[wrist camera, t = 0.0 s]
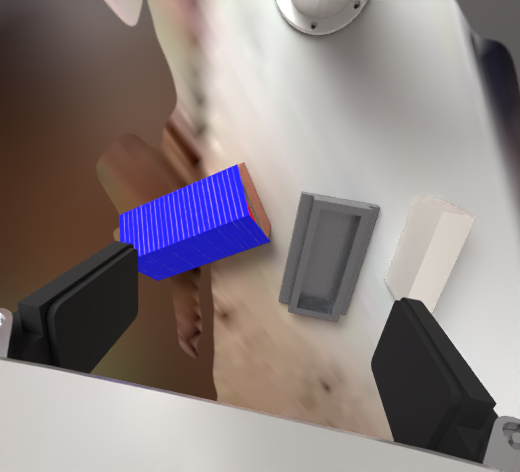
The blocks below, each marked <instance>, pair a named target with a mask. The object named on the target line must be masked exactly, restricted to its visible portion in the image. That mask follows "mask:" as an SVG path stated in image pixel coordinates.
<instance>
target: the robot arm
mask: <svg viewBox="0 0 520 472" xmlns="http://www.w3.org/2000/svg"><path fill="white" fill-rule="evenodd" d="M276 2H277V5H278V8H279V10H280V11H281V13H282V15H283V17H284V18H285V19H286V20H287V21H288V22H289V24H291V25H292V26H293V27H295V28H296V29H297V30H299V31H302V32H304V33H306V34H311V35H325V34H330V33H333V32H335V31H338V30H340V29H342V28H343V27H345V26H346V25H347V24H349V23H350V22H351V21H352V20H353V19H354V18H355V17H356V16H357V15H358V14H359V13H360V11H361V10H362V8H363V7H364V6H365V4H366V2H367V0H276ZM355 5H357V7H358V8H357V9H355V8H354V6H355ZM313 25H314V26H315V29H312V28H311V27H312V26H313ZM18 308H19V310H17V311H16V312H14V313H11V312H9V311H8V310H6V309H2V308H0V472H520V419H517V418H514V417H509V416H502V417H498V415H497V414H496V413H495V411H494V410H493V408H494V407H495V405H496V402H495V401H494V400H493V398H492V397H491V396H490V394H489V393H488V391H487V390H486V389H485V387H484V386H483V385H482V383H481V382H480V380H479V379H478V378H477V376H476V375H475V374H474V372H473V371H472V369H471V368H470V367H469V365H468V364H467V363H466V361H465V360H464V358H463V357H462V356H461V354H460V353H459V352H458V350H457V349H456V347H455V346H454V345H453V343H452V342H451V341H450V339H449V338H448V336H447V335H446V334H445V332H444V331H443V330H442V328H441V327H440V325H439V324H438V323H437V321H436V320H435V319H434V317H433V316H432V314H431V313H430V312H429V310H428V309H427V308H426V306H425V305H424V303H423V302H422V301H420V300H416V299H410V298H405V297H403V298H401V299H400V301H399V300H396V301H395V302H394V304H393V307H392V309H391V312H390V314H389V317H388V319H387V322H386V324H385V327H384V330H383V332H382V335H381V337H380V340H379V342H378V345H377V347H376V350H375V352H374V355H373V358H372V362H371V368H372V372H373V375H374V378H375V381H376V384H377V388H378V391H379V394H380V397H381V400H382V403H383V407H384V410H385V413H386V416H387V419H388V423H389V426H390V429H391V432H392V435H393V438H394V442H393V441H389V440H385V439H381V438H377V437H372V436H368V435H363V434H359V433H355V432H350V431H346V430H341V429H337V428H333V427H328V426H324V425H320V424H315V423H311V422H306V421H302V420H298V419H293V418H289V417H284V416H280V415H275V414H271V413H266V412H262V411H257V410H253V409H248V408H244V407H239V406H235V405H230V404H226V403H221V402H217V401H212V400H208V399H203V398H198V397H194V396H189V395H185V394H181V393H176V392H171V391H167V390H162V389H157V388H152V387H148V386H143V385H139V384H134V383H130V382H125V381H120V380H115V379H111V378H106V377H102V376H97V375H92V374H89V373H90V372H91V371H92V370H93V369H94V368H95V366H96V365H97V364H98V363H99V362H100V360H101V359H102V358H103V357H104V356H105V354H106V353H107V352H108V351H109V350H110V348H111V347H112V346H113V345H114V344H115V342H116V341H117V340H118V339H119V338H120V336H121V335H122V334H123V333H124V332H125V330H126V329H127V328H128V327H129V326H130V325H131V323H132V322H133V321H134V320H135V318H136V316H137V313H138V251H137V249H135V248H134V246H133V245H132V244H129V243H124V242H119V241H115V242H113V243H111V244H110V245H108V246H106V247H105V248H103V249H102V250H100V251H99V252H97V253H95V254H94V255H92V256H91V257H89V258H87V259H86V260H84V261H83V262H81V263H79V264H78V265H76V266H75V267H73V268H72V269H70V270H68V271H67V272H65V273H63V274H62V275H60V276H59V277H57V278H56V279H54V280H52V281H51V282H49V283H48V284H46V285H44V286H43V287H41V288H40V289H38V290H36V291H35V292H33V293H32V294H30V295H29V296H27V297H25V298H24V299H22V300H21V301H19V302H18Z"/></svg>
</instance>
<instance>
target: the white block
mask: <svg viewBox="0 0 520 472" xmlns="http://www.w3.org/2000/svg"><path fill="white" fill-rule="evenodd" d="M475 219H476V217H475V216H473V215H471V214H469V213H467V212H465V211H463V210H461V209H459V208H457V207H455V206H453V205H451V204H449V203H447V202H445V201H443V200H439V199H433V198H427V197H422V196H416V195H415V197H414V200H413V203H412V206H411V208H410V211H409V214H408V217H407V219H406V222H405V225H404V227H403V230H402V233H401V236H400V238H399V241H398V244H397V247H396V249H395V252H394V255H393V258H392V260H391V263H390V266H389V269H388V271H387V274H386V277H385V279H384V280H385V282H386V284H387V285H388V287H389V289H390V291H391V292H392V294H393V296H394V297H395V299H396V300H399V301H400V299H401V298H403V297H405V298H410V299H416V300H420V301H422V302H423V303H424V305H425V306H426V308H427V309H428V310H429V312H430V313H431V314H432V312H433V310H434V308H435V306H436V303H437V301H438V299H439V297H440V295H441V293H442V290H443V288H444V286H445V284H446V282H447V279H448V277H449V275H450V273H451V271H452V269H453V266H454V264H455V262H456V260H457V258H458V256H459V253H460V251H461V249H462V247H463V245H464V242H465V240H466V238H467V236H468V234H469V232H470V229H471V227H472V225H473V223H474V221H475Z"/></svg>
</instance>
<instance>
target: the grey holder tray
mask: <svg viewBox="0 0 520 472" xmlns="http://www.w3.org/2000/svg"><path fill="white" fill-rule="evenodd" d="M379 210H380V207H379V206H378V205H374V204H368V203H363V202H357V201H352V200H346V199H340V198H335V197H329V196H324V195H318V194H313V193H307V192H302V193H301V197H300V202H299V207H298V211H297V216H296V221H295V225H294V230H293V235H292V239H291V244H290V249H289V253H288V258H287V263H286V267H285V272H284V277H283V281H282V286H281V291H280V295H279V302H282V303H287V304H289V305H288V312H290V313H295V314H300V315H305V316H310V317H315V318H320V319H325V320H330V321H334V322H337V321H338V317H339V314H342V315H345V314H346V311H347V308H348V305H349V302H350V299H351V296H352V293H353V290H354V287H355V284H356V281H357V277H358V274H359V271H360V268H361V265H362V262H363V259H364V256H365V253H366V250H367V247H368V243H369V240H370V237H371V234H372V231H373V228H374V225H375V222H376V219H377V216H378V213H379Z"/></svg>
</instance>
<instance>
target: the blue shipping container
mask: <svg viewBox="0 0 520 472" xmlns="http://www.w3.org/2000/svg"><path fill="white" fill-rule="evenodd" d="M245 197H246V198H245ZM246 199H247V200H246ZM247 202H248V203H247ZM248 204H249V205H248ZM249 206H250V207H249ZM250 208H251V210H250ZM251 211H252V212H251ZM252 213H253V214H252ZM253 215H254V216H253ZM119 217H120V241H121V242H124V243H129V244H132V245H133V246H134V248H135V249H137V251H138V271H139V272H141V273H143V274H145V275H147V276H149V277H151V278H153V279H156V280H157V281H159V280H162V279H165V278H167V277H170V276H173V275H176V274H179V273H182V272H185V271H187V270H190V269H193V268H196V267H199V266H202V265H205V264H207V263H210V262H213V261H216V260H219V259H222V258H225V257H228V256H231V255H233V254H236V253H239V252H242V251H245V250H248V249H251V248H253V247H256V246H259V245H262V244H265V243H268V242H271V241H270V240H269V239H268V237H269V233H270V229H271V225H270V222H269V220H268V218H267V215H266V213H265V211H264V208H263V206H262V204H261V201H260V199H259V196H258V194H257V192H256V189H255V187H254V185H253V182H252V180H251V178H250V175H249V173H248V171H247V168H246V166H245V163H244V162H243V163H241V164H239V165H235V166H232V167H230V168H228V169H225V170H223V171H221V172H218V173H216V174H214V175H211V176H209V177H207V178H205V179H202V180H200V181H198V182H195V183H193V184H191V185H188V186H186V187H184V188H181V189H179V190H177V191H174V192H172V193H170V194H167V195H165V196H163V197H160V198H158V199H156V200H153V201H151V202H149V203H146V204H144V205H142V206H140V207H137V208H135V209H132V210H130V211H128V212H126V213H123V214H121V215H119ZM254 218H255V219H254ZM255 220H256V221H255ZM256 222H257V223H256ZM257 224H258V225H257Z"/></svg>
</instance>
